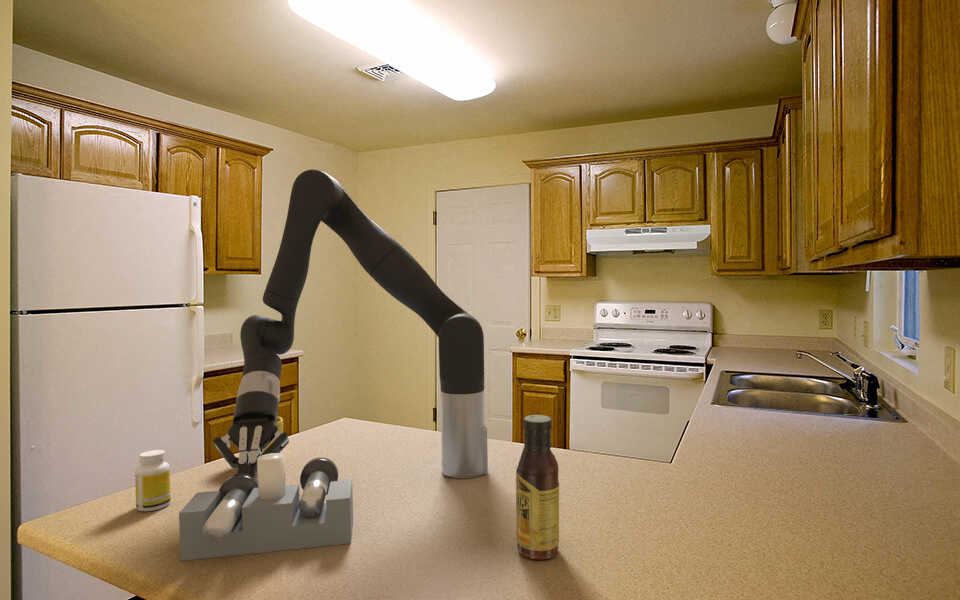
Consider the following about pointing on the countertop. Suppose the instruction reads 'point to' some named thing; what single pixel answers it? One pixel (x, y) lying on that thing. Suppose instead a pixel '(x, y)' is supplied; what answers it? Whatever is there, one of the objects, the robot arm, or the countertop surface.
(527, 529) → the sauce bottle
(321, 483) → the knob
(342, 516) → the slotted grey stand
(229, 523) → the knob
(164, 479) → the supplement bottle
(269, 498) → the white cylinder
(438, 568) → the countertop surface
